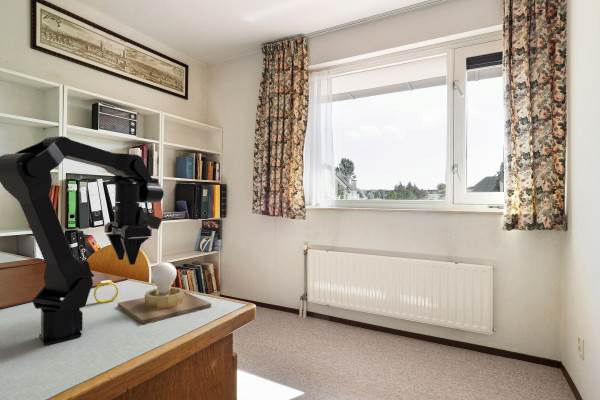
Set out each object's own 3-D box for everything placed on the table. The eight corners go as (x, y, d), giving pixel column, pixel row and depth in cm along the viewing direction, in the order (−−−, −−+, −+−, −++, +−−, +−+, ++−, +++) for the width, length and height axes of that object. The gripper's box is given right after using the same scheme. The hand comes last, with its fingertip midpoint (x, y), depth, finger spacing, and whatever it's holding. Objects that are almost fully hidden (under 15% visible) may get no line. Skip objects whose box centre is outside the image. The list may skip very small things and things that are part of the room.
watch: (94, 305, 91) (93, 284, 91) (94, 303, 93) (92, 282, 93) (119, 300, 95) (117, 280, 94) (117, 298, 97) (116, 278, 97)
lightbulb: (146, 303, 89) (146, 263, 89) (165, 297, 95) (166, 259, 95) (162, 307, 86) (162, 265, 86) (181, 301, 92) (181, 261, 92)
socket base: (142, 324, 77) (142, 320, 77) (117, 306, 90) (117, 302, 90) (211, 306, 90) (211, 303, 90) (181, 293, 103) (181, 290, 103)
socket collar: (153, 311, 83) (153, 299, 83) (139, 302, 90) (139, 291, 90) (189, 303, 90) (189, 292, 90) (173, 295, 97) (174, 285, 97)
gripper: (172, 203, 85) (171, 263, 85) (146, 202, 99) (145, 254, 99) (126, 202, 78) (124, 269, 77) (104, 202, 91) (103, 258, 91)
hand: (126, 262), depth 86 cm, fingers open, 9 cm apart
